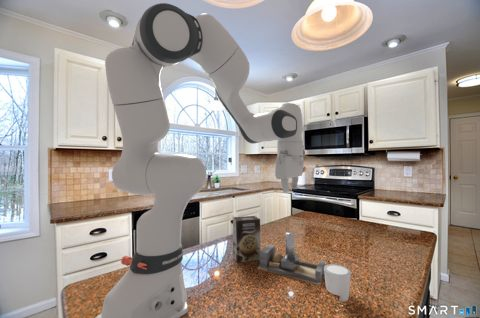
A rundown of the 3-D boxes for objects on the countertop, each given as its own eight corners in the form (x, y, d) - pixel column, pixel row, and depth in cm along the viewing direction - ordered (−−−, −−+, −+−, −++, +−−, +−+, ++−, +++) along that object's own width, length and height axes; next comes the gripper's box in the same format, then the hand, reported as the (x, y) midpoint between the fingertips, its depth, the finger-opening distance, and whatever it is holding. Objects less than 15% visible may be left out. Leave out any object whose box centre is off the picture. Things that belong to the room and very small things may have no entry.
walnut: (281, 269, 72) (281, 257, 72) (270, 266, 74) (270, 254, 74) (285, 264, 75) (285, 252, 76) (274, 261, 77) (274, 250, 78)
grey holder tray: (319, 290, 63) (319, 267, 63) (256, 273, 73) (256, 253, 73) (325, 273, 72) (325, 253, 72) (269, 260, 82) (269, 242, 82)
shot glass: (343, 287, 64) (343, 263, 64) (356, 302, 57) (356, 275, 57) (320, 288, 64) (319, 263, 64) (330, 303, 57) (330, 276, 57)
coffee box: (236, 267, 77) (236, 221, 77) (232, 259, 83) (232, 216, 83) (261, 263, 79) (260, 219, 80) (255, 256, 86) (254, 215, 86)
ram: (293, 274, 69) (292, 237, 69) (281, 271, 71) (280, 235, 71) (299, 265, 75) (298, 231, 75) (287, 262, 77) (287, 229, 77)
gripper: (289, 149, 67) (289, 195, 67) (306, 151, 84) (306, 187, 84) (270, 150, 70) (270, 193, 70) (290, 152, 88) (290, 186, 87)
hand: (290, 190), depth 77 cm, fingers open, 8 cm apart
